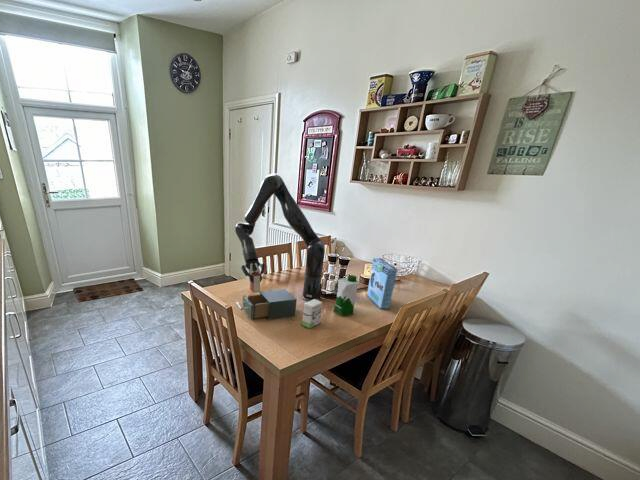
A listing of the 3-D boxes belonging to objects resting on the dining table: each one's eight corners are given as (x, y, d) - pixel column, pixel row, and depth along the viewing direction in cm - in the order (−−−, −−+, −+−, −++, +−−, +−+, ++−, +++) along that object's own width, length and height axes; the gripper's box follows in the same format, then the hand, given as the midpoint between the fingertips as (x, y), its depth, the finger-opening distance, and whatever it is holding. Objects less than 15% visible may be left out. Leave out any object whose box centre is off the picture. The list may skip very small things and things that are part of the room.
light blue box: (388, 309, 178) (398, 269, 169) (379, 309, 178) (388, 269, 168) (374, 294, 196) (382, 258, 186) (366, 294, 196) (373, 257, 186)
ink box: (309, 328, 157) (312, 306, 152) (301, 325, 160) (303, 303, 155) (320, 323, 162) (323, 301, 157) (311, 319, 165) (314, 298, 160)
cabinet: (268, 319, 164) (269, 302, 160) (258, 307, 177) (259, 291, 173) (295, 316, 168) (296, 299, 164) (283, 304, 181) (285, 288, 177)
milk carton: (355, 314, 171) (362, 278, 163) (341, 317, 168) (347, 281, 160) (344, 307, 179) (350, 273, 170) (331, 310, 175) (336, 275, 167)
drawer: (241, 320, 161) (242, 306, 157) (234, 309, 172) (234, 296, 169) (275, 316, 166) (276, 302, 162) (266, 305, 177) (267, 292, 174)
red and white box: (256, 288, 187) (257, 271, 183) (259, 291, 182) (260, 275, 178) (250, 289, 186) (250, 272, 182) (253, 292, 181) (253, 275, 177)
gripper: (239, 251, 180) (245, 280, 175) (263, 250, 184) (270, 277, 178) (236, 258, 187) (242, 285, 181) (260, 256, 191) (266, 283, 185)
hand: (256, 281), depth 180 cm, fingers closed on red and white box, 4 cm apart
